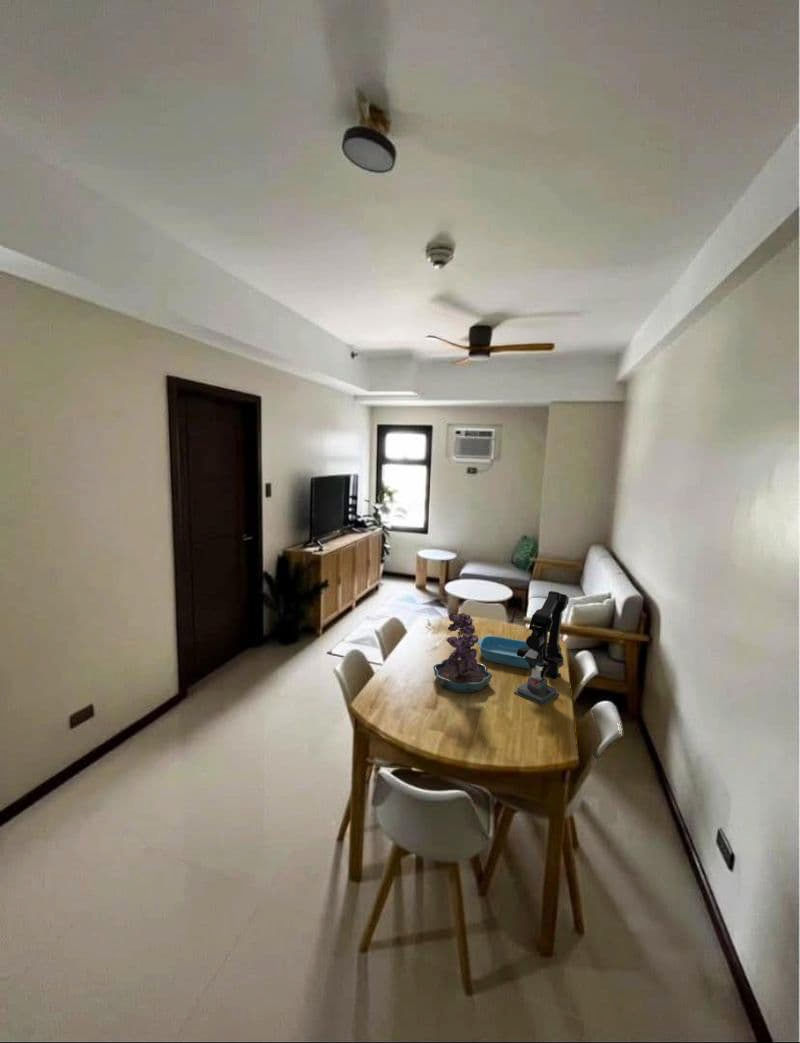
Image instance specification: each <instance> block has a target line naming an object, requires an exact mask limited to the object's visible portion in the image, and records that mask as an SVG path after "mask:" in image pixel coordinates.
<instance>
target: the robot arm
mask: <svg viewBox="0 0 800 1043" xmlns="http://www.w3.org/2000/svg"><path fill="white" fill-rule="evenodd" d="M569 599H570V597H568V595H567V594H565V593H560V591H559V592H558V591H553V590H551V591H548V594H547V597H546V599H545V601H544V603H543V605H542V607H541V608H539V609H537V610H536V611H535V612H534V613H533V614H532V615H531V619H530V622H529V627H528V630H529V631H532V632H531V633H530V635H528V636H527V638H526V640H525V641H526V644H527V646H528V647H529V648H527V647H522V648H520V649H518V650H517V656H520V657H524V656H525V658H524V659H525V660H526V661H527V662H528V663H529V665H530V668H531V669H530V671H531V673H532V668H533V667H535V666H536V664H537V662H540V663H541V662H542V661H543V662H544V663H543V665H541V667H542V678H545V676H546V677H548V678H551V679H557V678H559V677H560V676H561V675H562V674H561V672H559V669H560V668H561V667H563V666H564V656H563V653H562V648H561V645H560V637H561V636H560V635H561V625H562V618H563V613H564V611H565V610H566V609H567V606H568V605H569V602H570V600H569ZM548 635H549V636H548Z"/></svg>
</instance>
